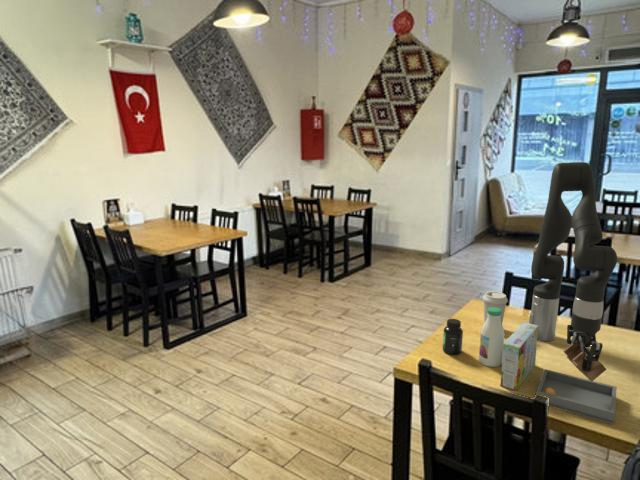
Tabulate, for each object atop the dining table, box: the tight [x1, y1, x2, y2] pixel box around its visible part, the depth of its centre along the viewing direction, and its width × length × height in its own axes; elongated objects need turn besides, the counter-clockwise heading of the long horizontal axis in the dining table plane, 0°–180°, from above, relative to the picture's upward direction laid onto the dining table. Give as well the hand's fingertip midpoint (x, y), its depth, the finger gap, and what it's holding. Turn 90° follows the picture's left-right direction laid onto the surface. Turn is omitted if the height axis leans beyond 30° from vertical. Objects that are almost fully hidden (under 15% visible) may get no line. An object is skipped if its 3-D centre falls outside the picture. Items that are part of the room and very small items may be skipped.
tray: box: [535, 368, 618, 425], centre depth 139 cm, size 20×16×4 cm
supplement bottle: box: [442, 318, 464, 356], centre depth 169 cm, size 7×7×12 cm
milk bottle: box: [478, 307, 505, 368], centre depth 160 cm, size 8×8×20 cm
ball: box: [545, 388, 556, 395], centre depth 139 cm, size 3×3×3 cm
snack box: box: [500, 321, 538, 391], centre depth 152 cm, size 21×6×15 cm, turn 141°
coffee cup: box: [482, 291, 509, 324], centre depth 187 cm, size 10×10×15 cm
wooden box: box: [562, 341, 608, 381], centre depth 136 cm, size 6×6×10 cm
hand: (580, 365), depth 137 cm, fingers closed on wooden box, 5 cm apart
